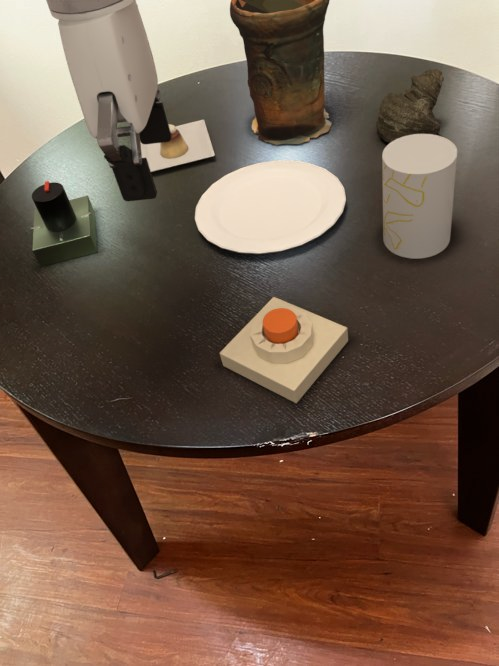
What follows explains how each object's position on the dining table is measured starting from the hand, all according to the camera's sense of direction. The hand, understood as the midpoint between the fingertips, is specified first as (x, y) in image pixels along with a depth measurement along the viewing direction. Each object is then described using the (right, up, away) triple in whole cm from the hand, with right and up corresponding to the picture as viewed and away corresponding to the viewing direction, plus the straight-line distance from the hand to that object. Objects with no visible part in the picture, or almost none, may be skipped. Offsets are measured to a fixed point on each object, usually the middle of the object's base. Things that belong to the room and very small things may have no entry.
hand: (149, 168), depth 63 cm
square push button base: (+14, -18, +8) cm, 24 cm away
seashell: (+32, +14, +35) cm, 49 cm away
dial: (-17, 0, +27) cm, 32 cm away
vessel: (+17, +18, +42) cm, 49 cm away
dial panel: (-16, -3, +30) cm, 34 cm away
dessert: (-2, +13, +41) cm, 44 cm away
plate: (+13, +1, +26) cm, 29 cm away
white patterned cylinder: (+31, -4, +18) cm, 36 cm away
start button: (+13, -16, +6) cm, 21 cm away
